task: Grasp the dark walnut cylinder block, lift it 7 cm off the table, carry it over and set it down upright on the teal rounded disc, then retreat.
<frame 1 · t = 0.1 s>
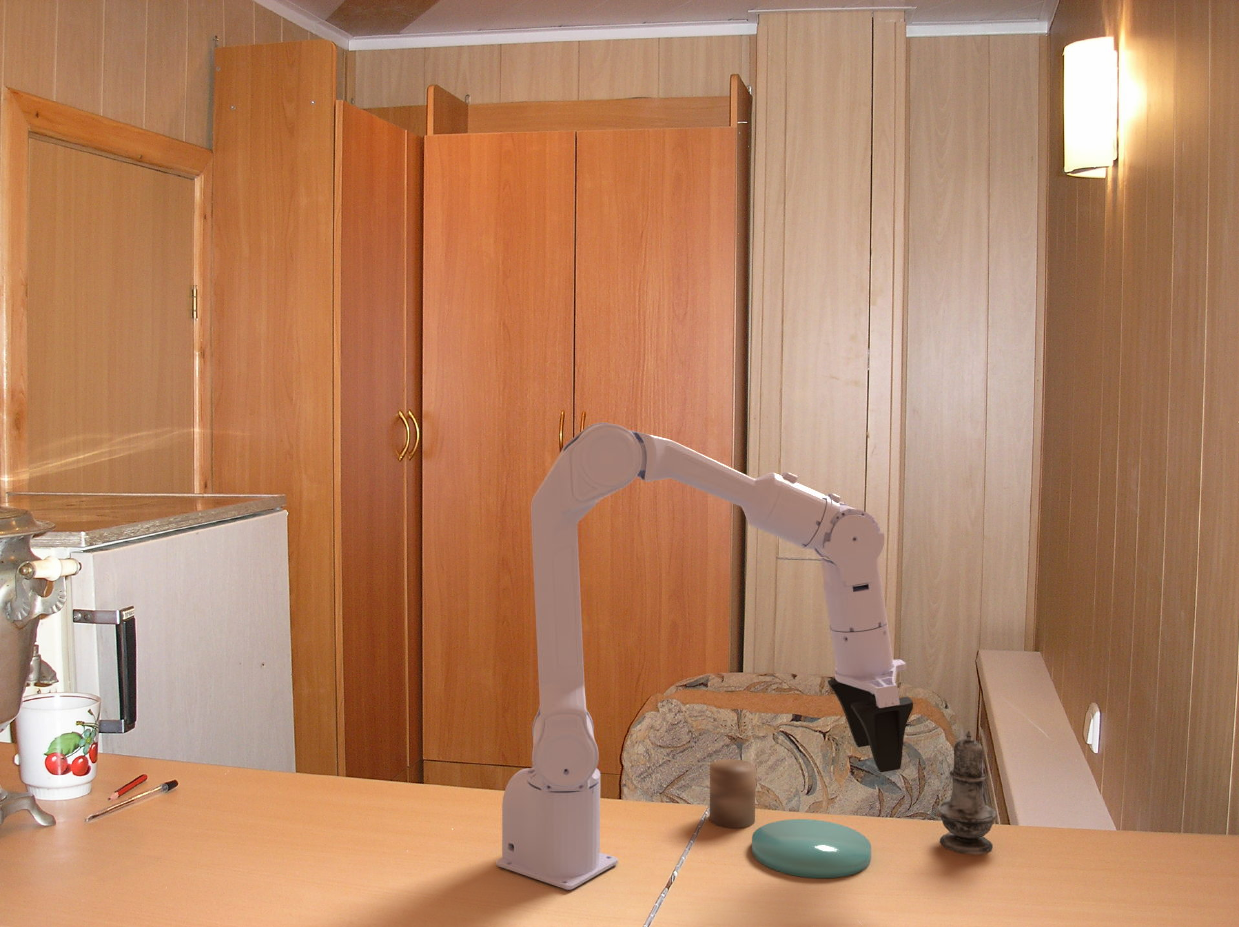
hand: (877, 756, 109), 11 cm above the table, tool pointing down, fingers open, 7 cm apart
salt shaker: (966, 845, 113), on the table
teal rounded disc: (810, 852, 111), on the table
walnut cylinder: (732, 819, 119), on the table
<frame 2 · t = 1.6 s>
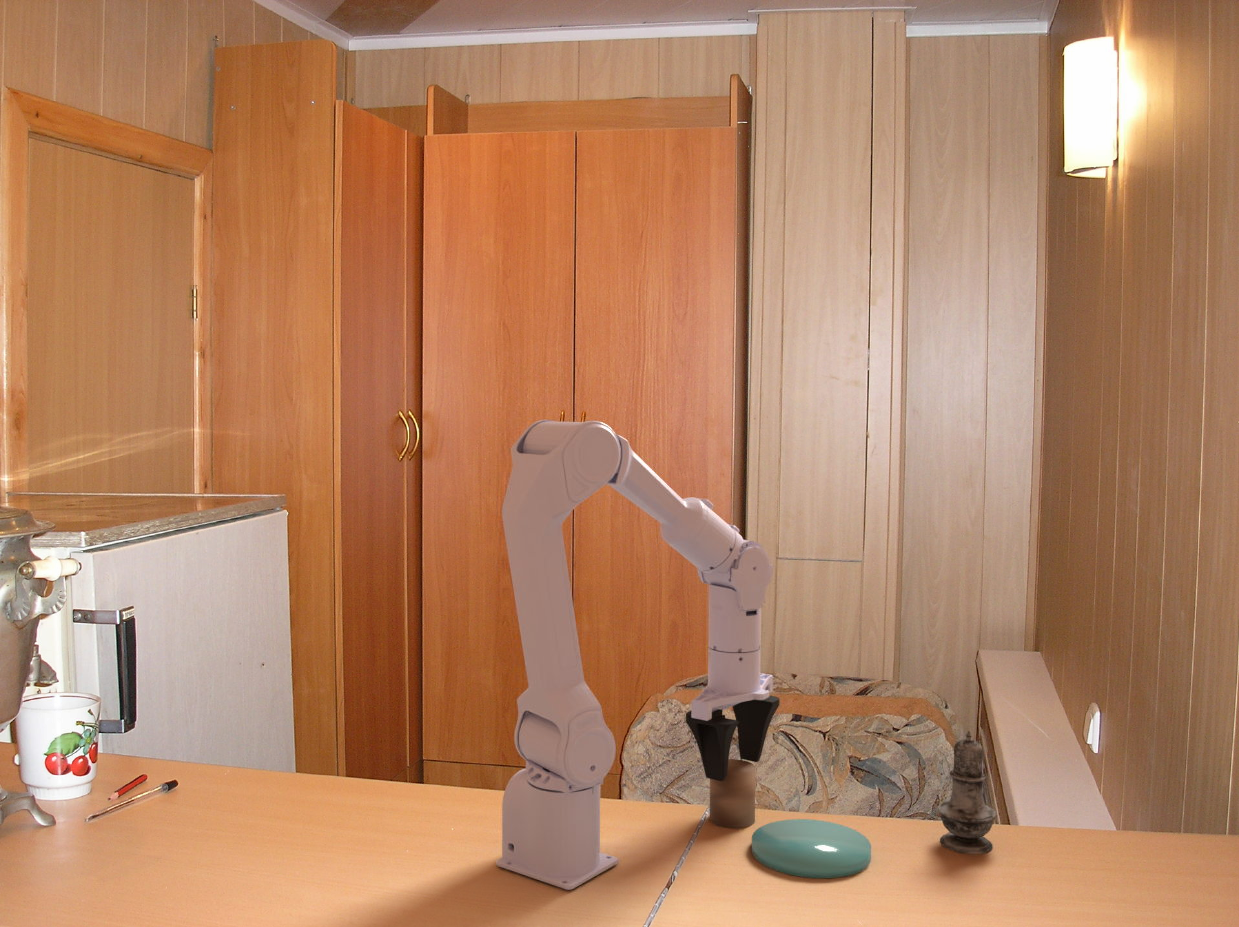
hand: (733, 769, 119), 6 cm above the table, tool pointing down, fingers open, 7 cm apart
nothing on the table moved.
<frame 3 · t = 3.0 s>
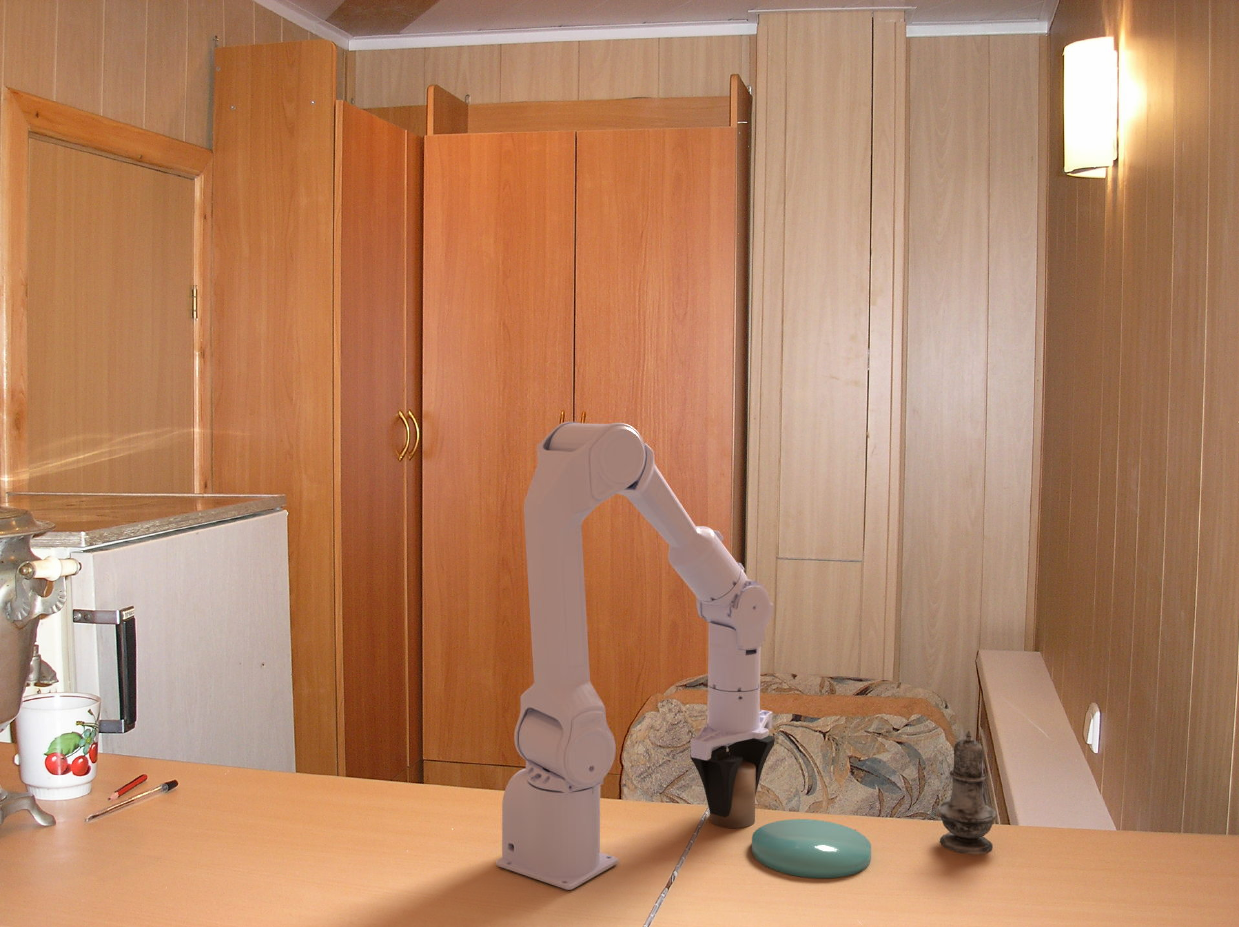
hand: (732, 806, 119), 1 cm above the table, tool pointing down, fingers closed on walnut cylinder, 5 cm apart
walnut cylinder: (732, 819, 119), on the table, touching gripper
everything else where it was.
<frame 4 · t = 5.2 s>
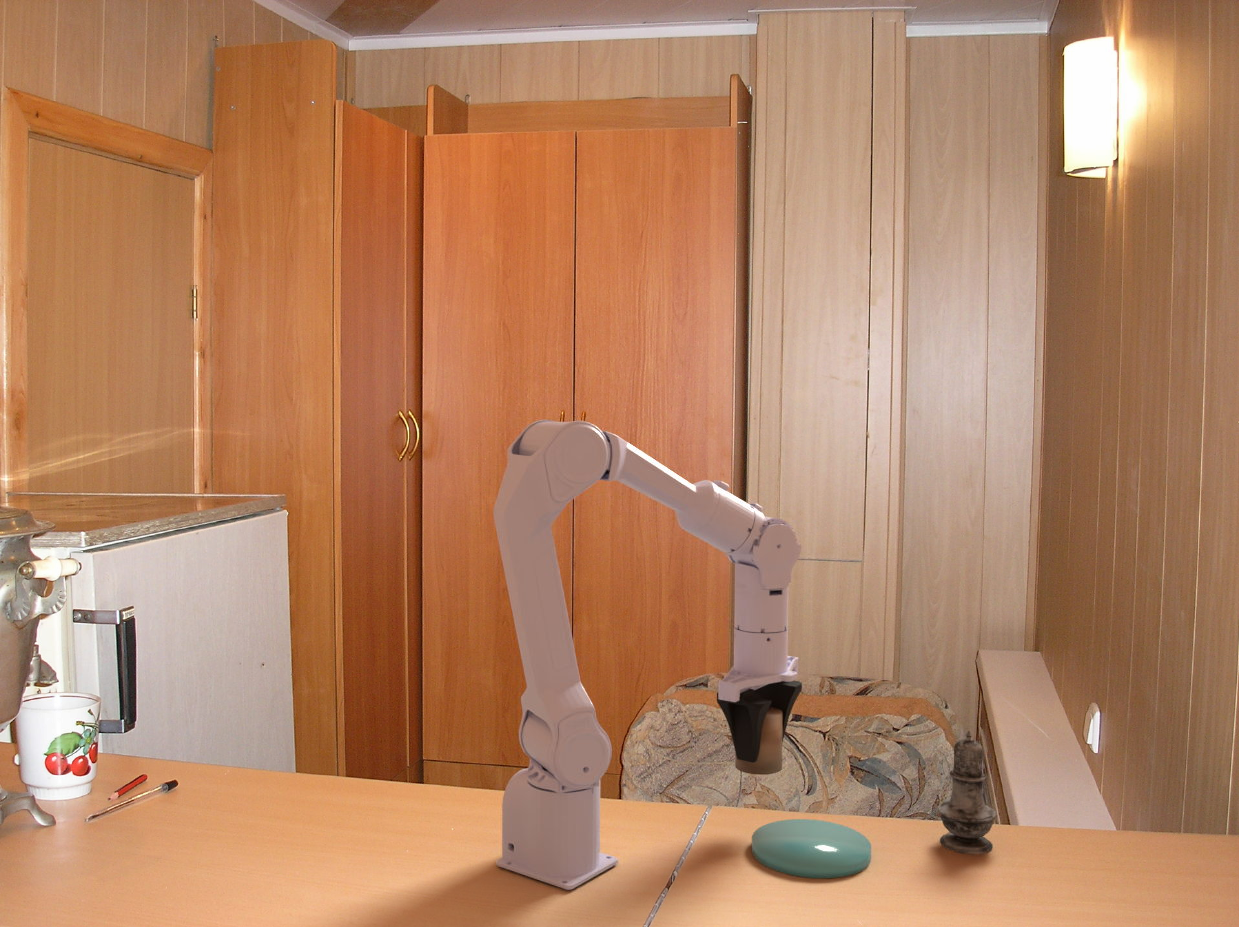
hand: (759, 753, 116), 8 cm above the table, tool pointing down, fingers closed on walnut cylinder, 5 cm apart
walnut cylinder: (758, 766, 116), point 7 cm above the table, touching gripper
everything else where it was.
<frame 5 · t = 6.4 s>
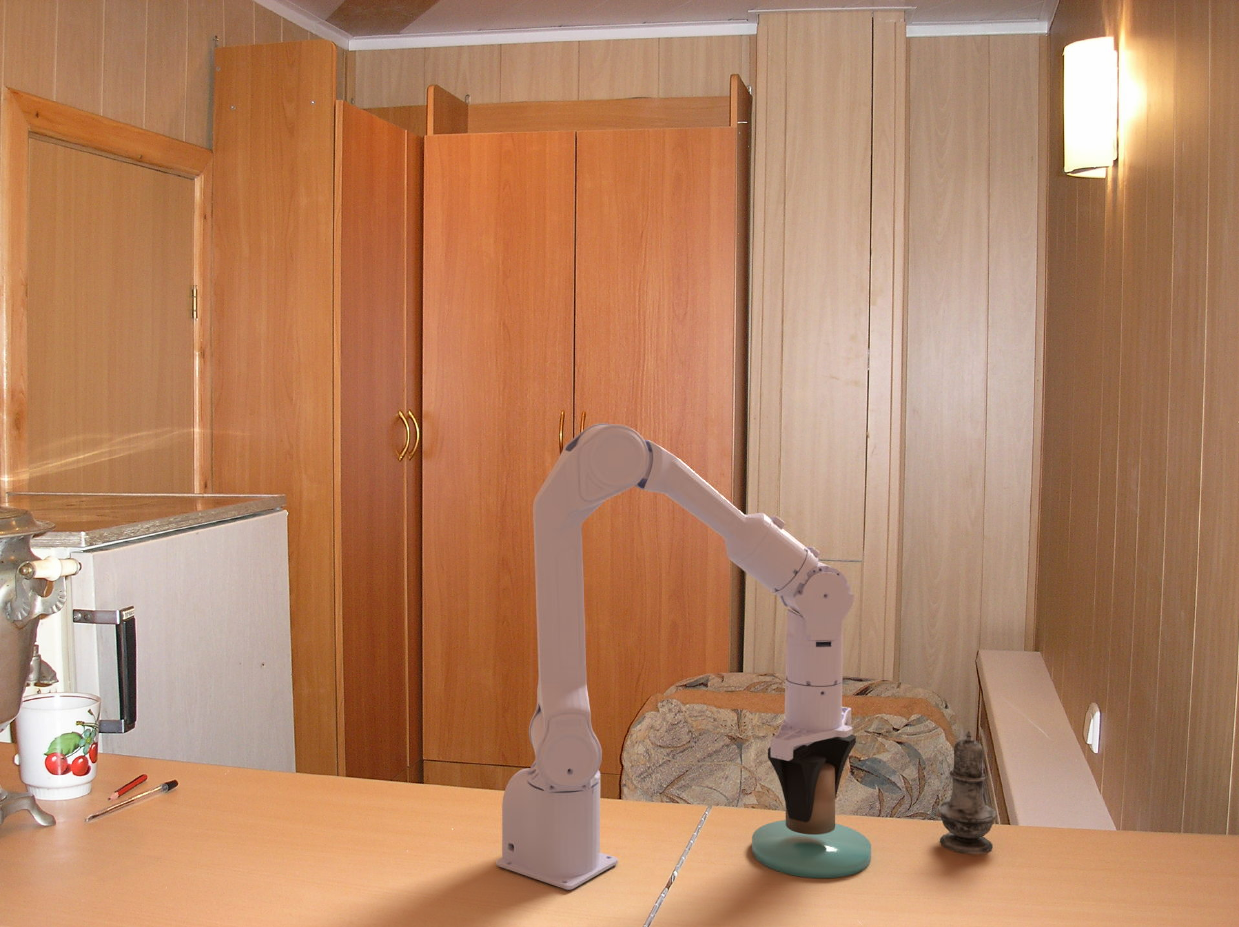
hand: (811, 811, 110), 4 cm above the table, tool pointing down, fingers closed on walnut cylinder, 5 cm apart
walnut cylinder: (810, 825, 110), point 3 cm above the table, touching gripper
everything else where it was.
when the fingers open (4 cm above the table, at t = 7.3 s): walnut cylinder drops 1 cm, resting on teal rounded disc.
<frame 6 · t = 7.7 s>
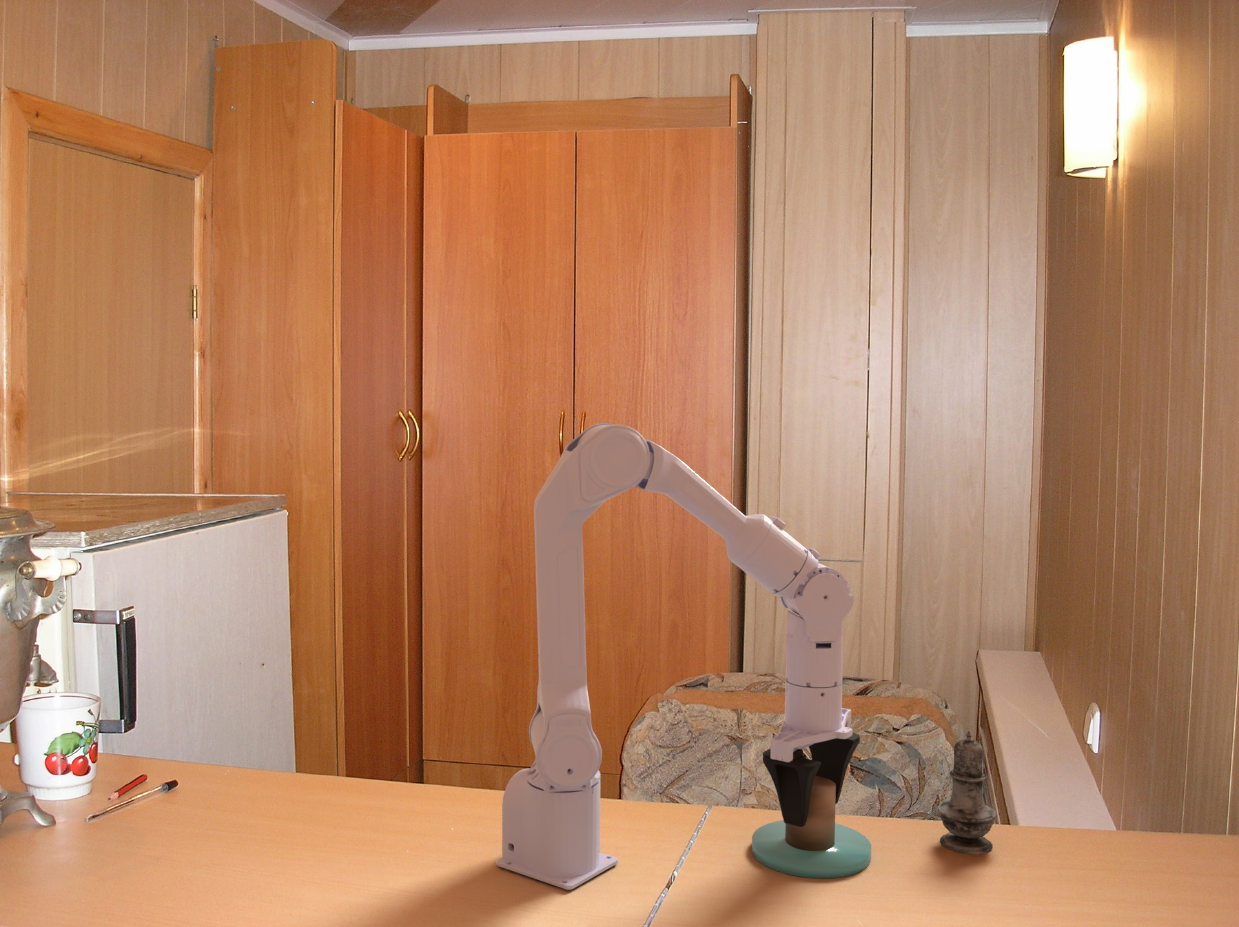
hand: (811, 812, 110), 4 cm above the table, tool pointing down, fingers open, 7 cm apart
walnut cylinder: (809, 841, 111), point 1 cm above the table, touching teal rounded disc
everything else where it was.
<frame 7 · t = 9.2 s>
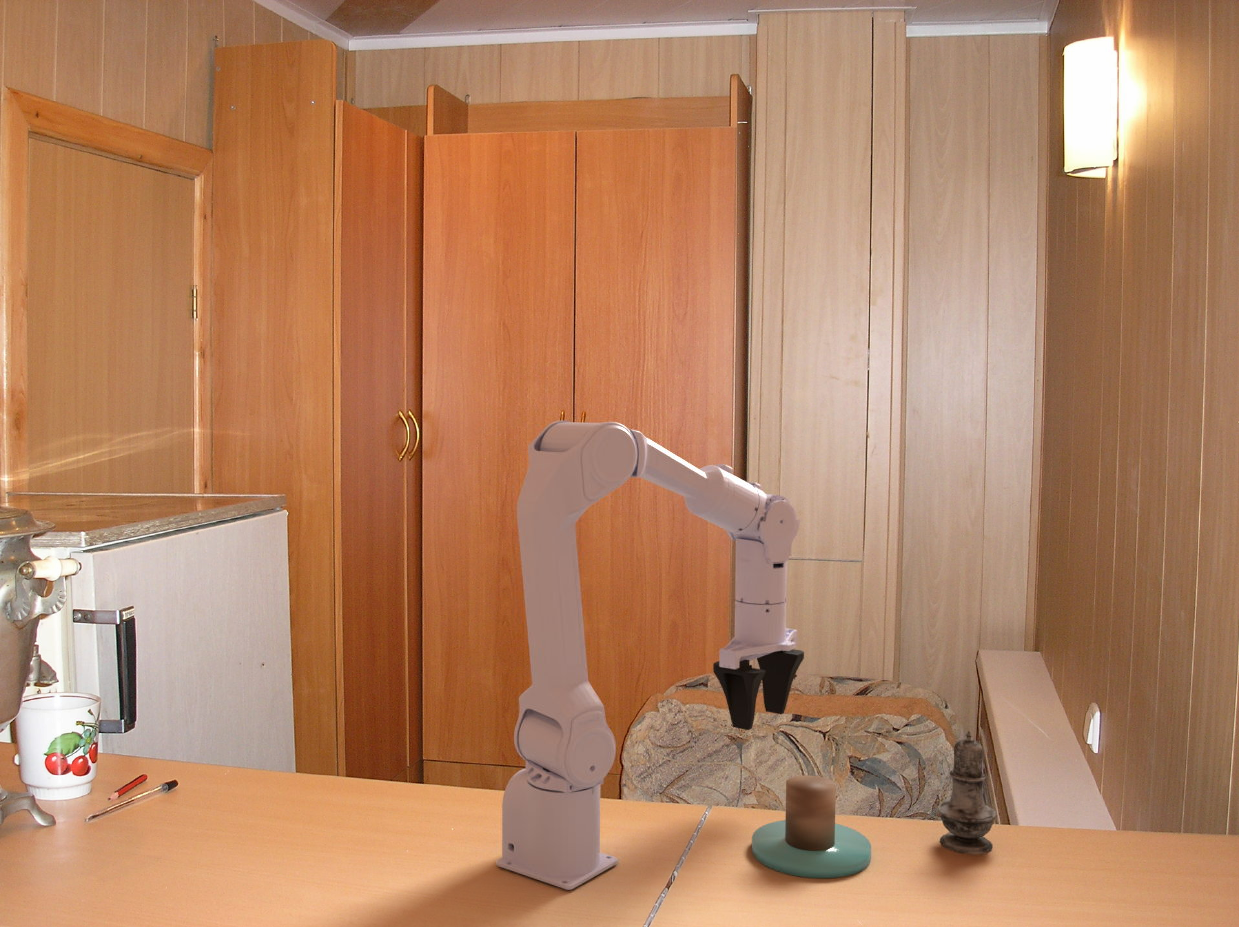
hand: (758, 719, 122), 10 cm above the table, tool pointing down, fingers open, 7 cm apart
nothing on the table moved.
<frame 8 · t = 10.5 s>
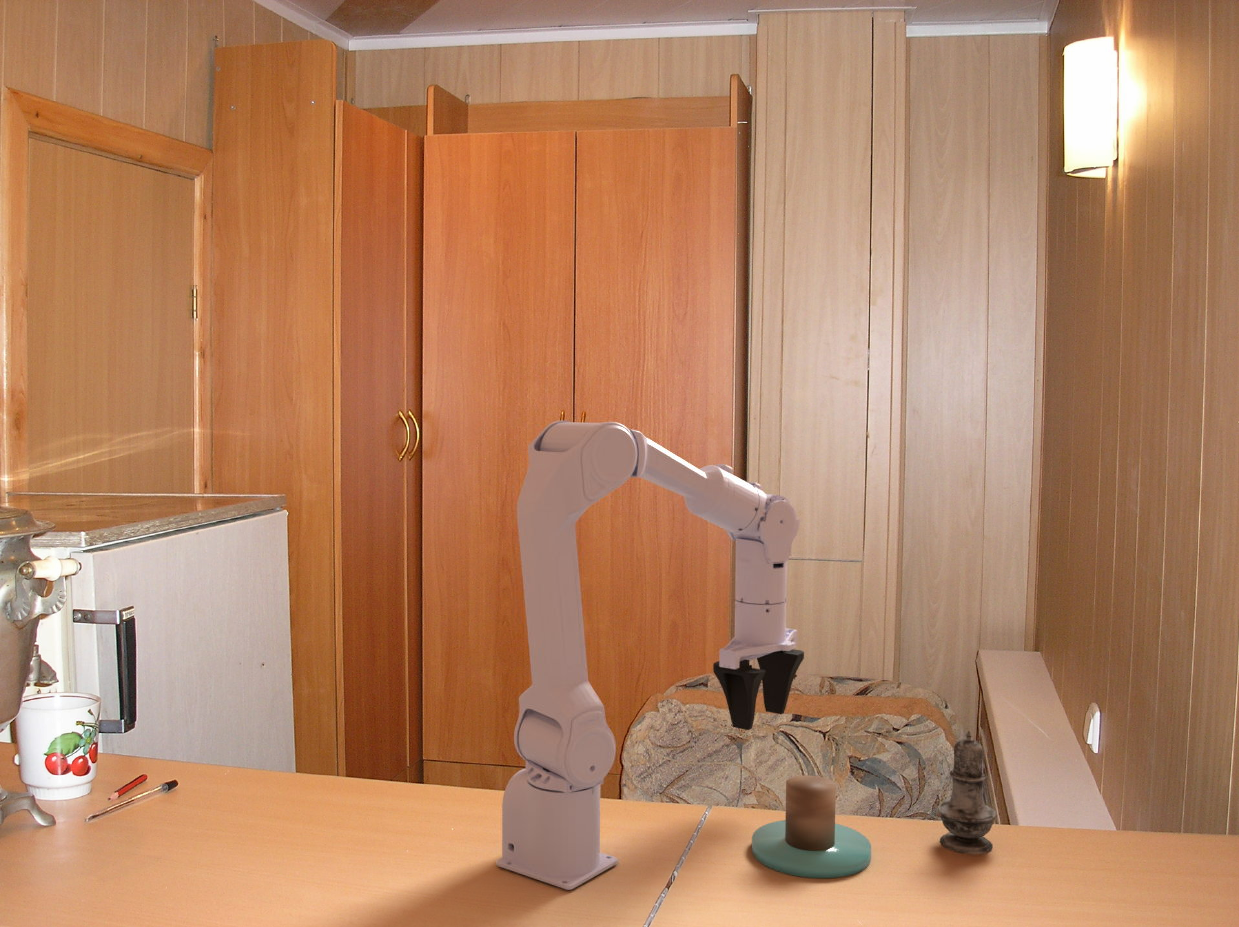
hand: (758, 719, 122), 10 cm above the table, tool pointing down, fingers open, 7 cm apart
nothing on the table moved.
at the end: walnut cylinder inside the target area on the teal rounded disc (0.1 cm from its centre), point 1.2 cm above the teal rounded disc's base; walnut cylinder tilted 0°; the gripper is holding nothing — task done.
